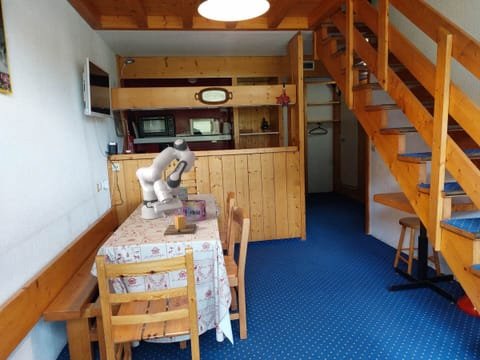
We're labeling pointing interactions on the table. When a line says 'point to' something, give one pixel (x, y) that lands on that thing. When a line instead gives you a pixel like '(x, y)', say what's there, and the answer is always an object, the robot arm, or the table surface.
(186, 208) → the gum box
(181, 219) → the upright amber block
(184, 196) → the snack box
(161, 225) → the table surface
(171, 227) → the walnut post board
